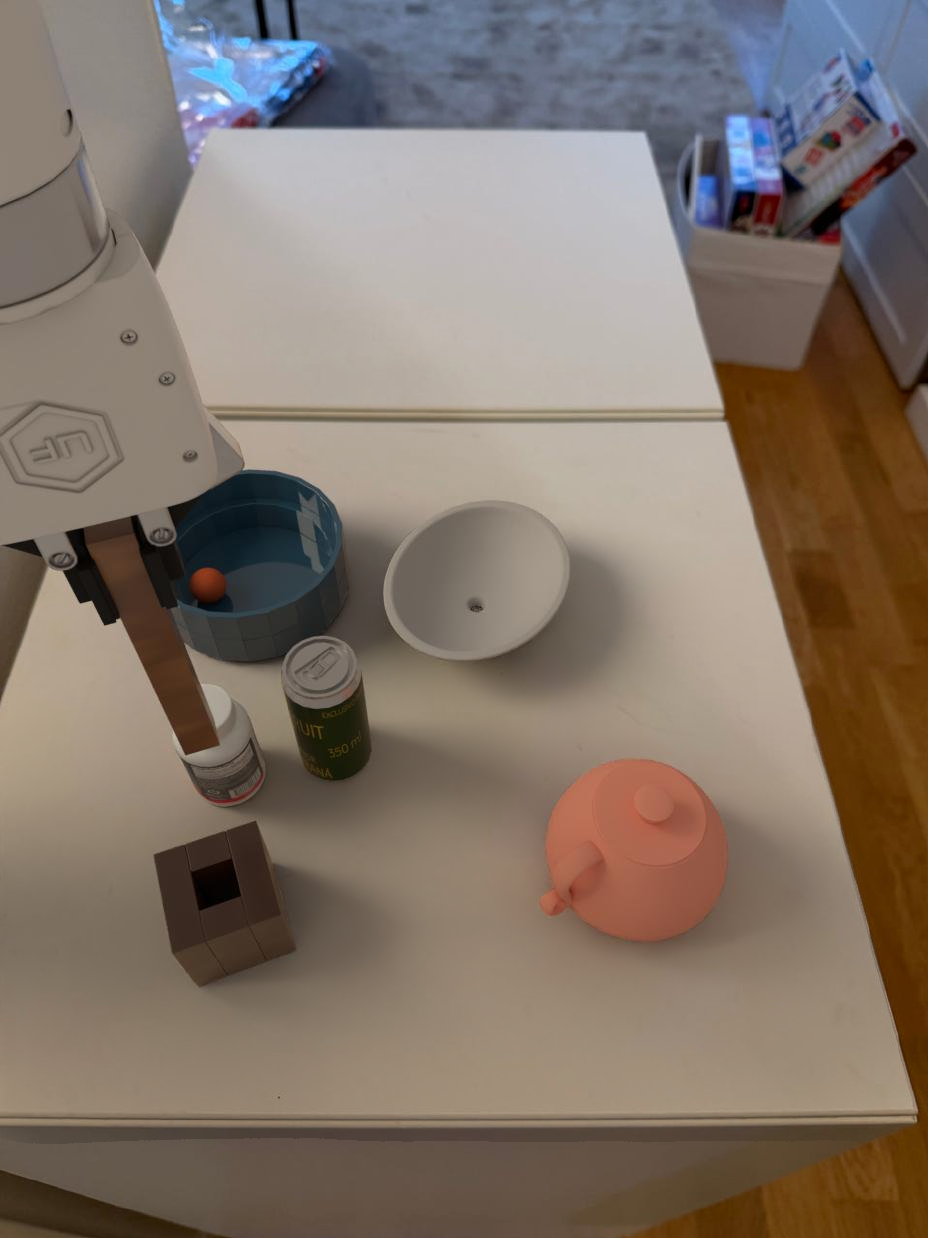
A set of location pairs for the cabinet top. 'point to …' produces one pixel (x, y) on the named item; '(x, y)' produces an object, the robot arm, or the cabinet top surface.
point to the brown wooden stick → (152, 633)
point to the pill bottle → (226, 754)
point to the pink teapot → (635, 851)
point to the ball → (207, 585)
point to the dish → (477, 580)
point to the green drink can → (327, 707)
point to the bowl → (261, 566)
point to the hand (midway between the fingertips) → (137, 591)
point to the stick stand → (223, 904)
